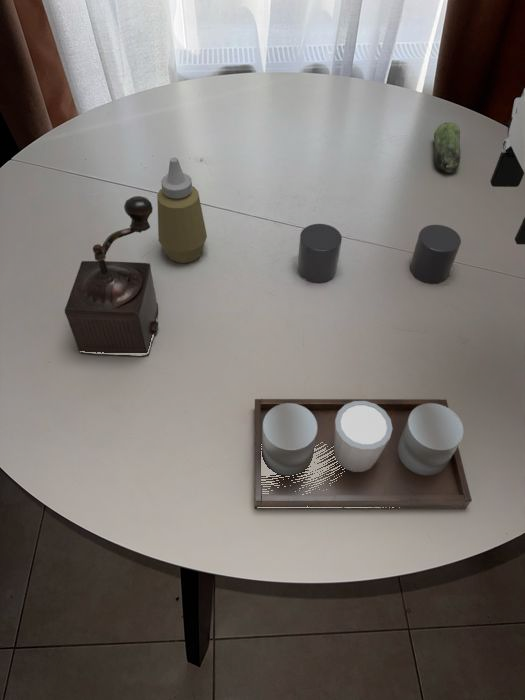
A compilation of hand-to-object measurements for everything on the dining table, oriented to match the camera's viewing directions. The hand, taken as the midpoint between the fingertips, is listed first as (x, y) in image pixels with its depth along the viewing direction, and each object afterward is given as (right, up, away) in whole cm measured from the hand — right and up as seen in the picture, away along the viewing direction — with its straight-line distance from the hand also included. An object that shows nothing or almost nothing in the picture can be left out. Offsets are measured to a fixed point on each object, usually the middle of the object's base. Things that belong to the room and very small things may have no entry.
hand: (516, 212), depth 62 cm
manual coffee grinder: (-49, -10, +28) cm, 57 cm away
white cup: (-15, -28, +13) cm, 34 cm away
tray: (-15, -29, +13) cm, 35 cm away
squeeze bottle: (-41, +2, +37) cm, 55 cm away
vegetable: (+10, +24, +56) cm, 62 cm away
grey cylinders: (-9, -1, +35) cm, 36 cm away
